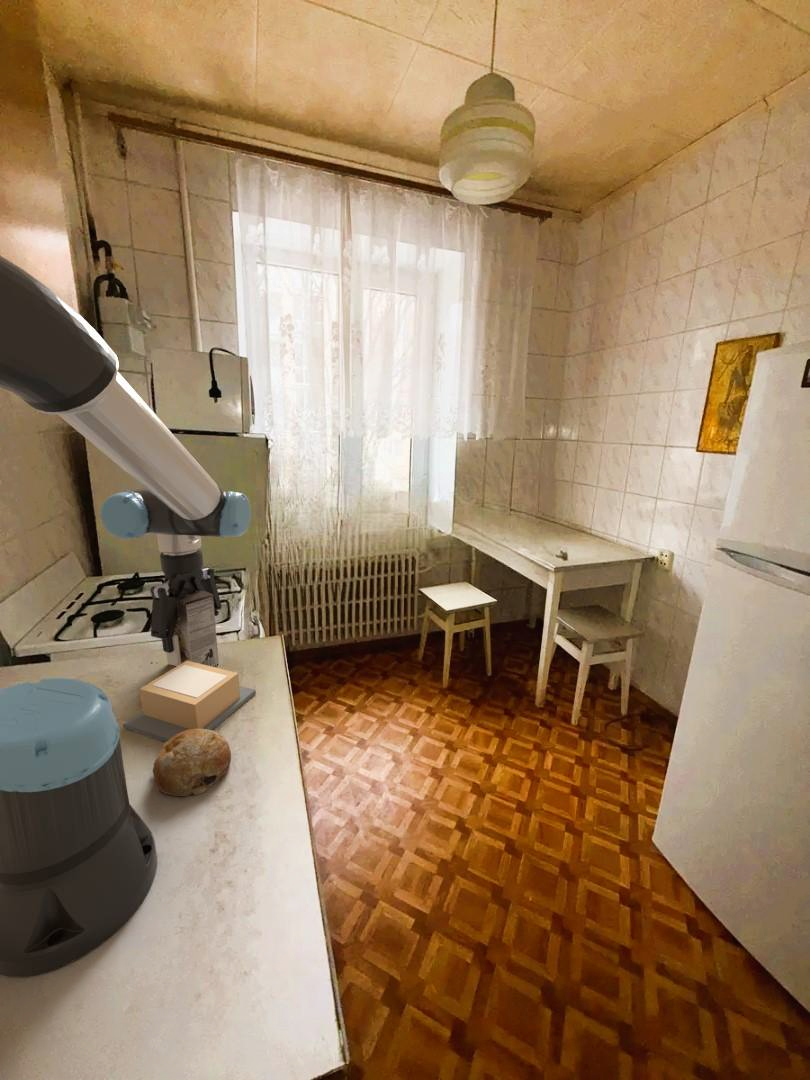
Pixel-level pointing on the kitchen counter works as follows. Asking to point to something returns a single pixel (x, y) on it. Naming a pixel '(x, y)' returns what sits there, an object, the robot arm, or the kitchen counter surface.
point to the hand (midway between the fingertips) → (192, 653)
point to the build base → (188, 701)
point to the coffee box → (197, 628)
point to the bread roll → (191, 762)
